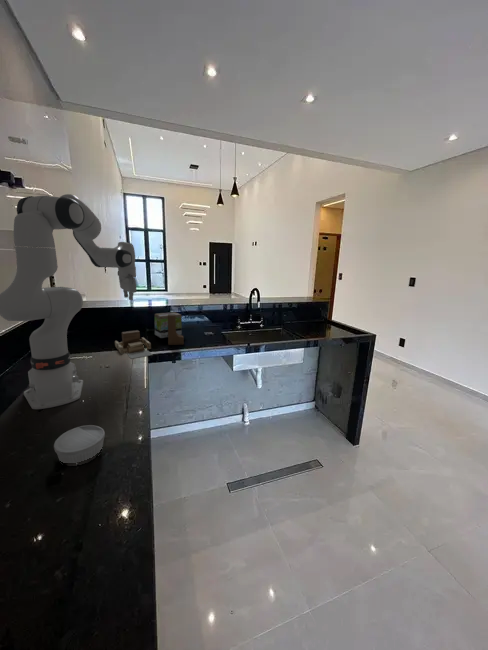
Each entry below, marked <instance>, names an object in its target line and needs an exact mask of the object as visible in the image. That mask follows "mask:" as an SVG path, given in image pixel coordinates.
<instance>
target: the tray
mask: <svg viewBox="0 0 488 650" xmlns="http://www.w3.org/2000/svg"><path fill="white" fill-rule="evenodd" d="M140 342H142V343H143V344H144V345H145V346H146V347H147V350H151V349H152V343H151V342H150V341H149V340H147V339H146V338H145V337H144V336H143V337H141V336H140ZM114 347H115V348H116V350H118V352H119V354H129V352H128V351H127V348H124V347H123V345H122V341H120V342H119V341H118V340H114Z"/></svg>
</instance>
